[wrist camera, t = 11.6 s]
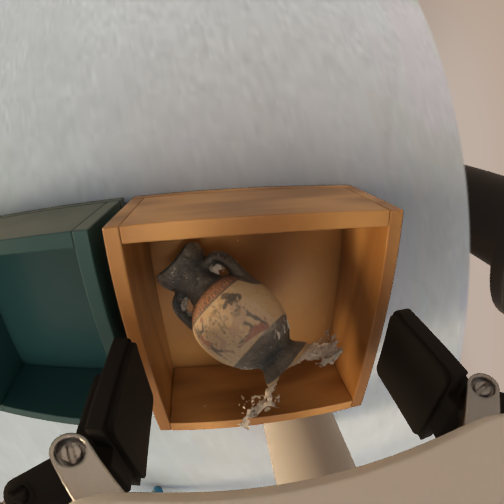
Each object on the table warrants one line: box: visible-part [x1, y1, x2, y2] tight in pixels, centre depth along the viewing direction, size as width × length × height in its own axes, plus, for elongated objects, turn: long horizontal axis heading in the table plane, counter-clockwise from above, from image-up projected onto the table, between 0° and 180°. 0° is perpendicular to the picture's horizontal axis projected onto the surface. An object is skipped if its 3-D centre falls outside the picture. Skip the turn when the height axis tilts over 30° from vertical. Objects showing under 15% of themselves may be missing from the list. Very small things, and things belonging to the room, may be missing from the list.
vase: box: [157, 240, 344, 430], centre depth 12 cm, size 5×5×6 cm
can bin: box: [0, 198, 128, 425], centre depth 12 cm, size 10×10×5 cm
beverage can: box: [264, 412, 356, 485], centre depth 14 cm, size 5×5×12 cm
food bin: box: [102, 185, 403, 430], centre depth 13 cm, size 10×10×5 cm
